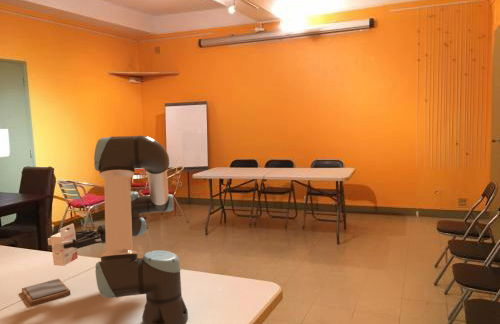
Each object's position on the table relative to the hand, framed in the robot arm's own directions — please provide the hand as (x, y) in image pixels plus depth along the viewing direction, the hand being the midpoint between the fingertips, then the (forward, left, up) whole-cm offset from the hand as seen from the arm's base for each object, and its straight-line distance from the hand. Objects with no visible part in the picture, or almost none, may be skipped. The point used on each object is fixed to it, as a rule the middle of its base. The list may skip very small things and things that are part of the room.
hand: (51, 244), depth 160 cm
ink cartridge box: (0, -5, -8) cm, 9 cm away
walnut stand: (+5, +2, -21) cm, 21 cm away
